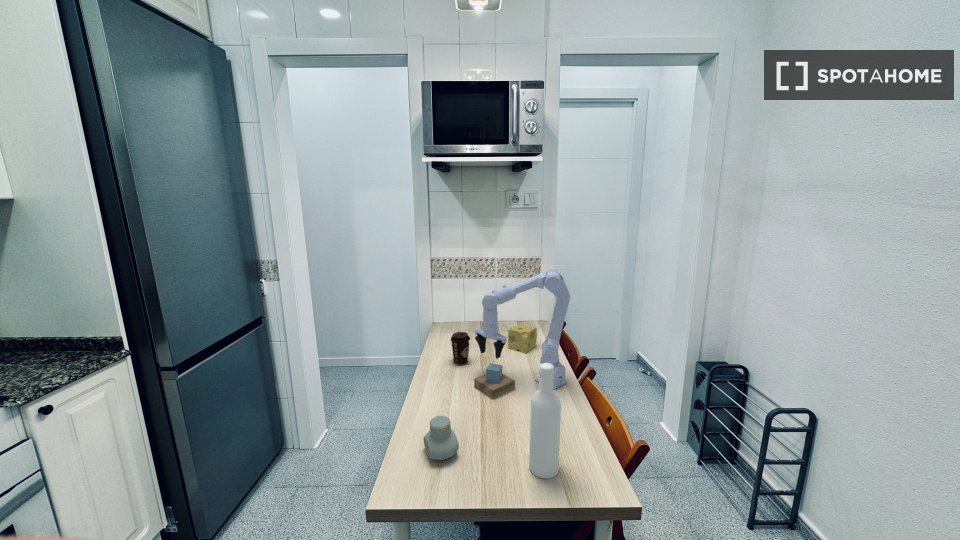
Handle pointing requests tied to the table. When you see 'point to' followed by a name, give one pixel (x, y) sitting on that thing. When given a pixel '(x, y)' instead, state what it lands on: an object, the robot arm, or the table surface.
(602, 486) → the table surface
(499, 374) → the teal cube
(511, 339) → the cheese
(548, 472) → the bottle
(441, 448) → the air freshener
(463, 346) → the coffee cup
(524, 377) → the table surface
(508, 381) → the plate
